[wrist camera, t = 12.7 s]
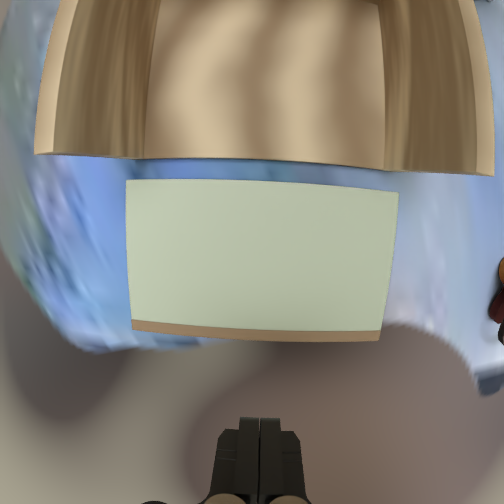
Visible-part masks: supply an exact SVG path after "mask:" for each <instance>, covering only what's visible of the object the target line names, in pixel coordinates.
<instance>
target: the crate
mask: <svg viewBox="0 0 504 504" xmlns="http://www.w3.org/2000/svg"><path fill="white" fill-rule="evenodd" d="M34 155H69V156H90V157H106V158H119V159H132V160H140V159H170V158H228V159H259V160H279V161H295V162H308V163H320V164H331V165H341V166H351V167H360V168H368V169H376V170H383V171H390V172H425V173H449V174H466V175H480V176H493V177H494V166H495V132H494V112H493V99H492V89H491V81H490V73H489V67H488V60H487V55H486V49H485V44H484V39H483V35H482V30H481V26H480V22H479V18H478V14H477V11H476V7H475V4H474V0H61V2H60V5H59V8H58V11H57V14H56V18H55V21H54V25H53V28H52V32H51V36H50V40H49V44H48V49H47V53H46V58H45V63H44V68H43V73H42V79H41V85H40V92H39V99H38V107H37V116H36V127H35V141H34Z"/></svg>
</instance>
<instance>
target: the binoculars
mask: <svg viewBox="0 0 504 504" xmlns="http://www.w3.org/2000/svg"><path fill="white" fill-rule="evenodd" d="M499 276H500V279H501V281H502V283H503V284H504V258H503V259H502V261H501V263H500V266H499ZM489 314H490V317H491V318H492V319H493V320H494V321H495V322H496V323H497V324H500V323H501V325H500V328H499V331H498V340H499V341H500V342H501V343H502V344H503V345H504V286H503V288H502V291H501V292H500V293H499V295H498V296H497V297H496V299H495V300H494V302H493V304H492V306H491V308H490V313H489Z"/></svg>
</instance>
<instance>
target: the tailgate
mask: <svg viewBox="0 0 504 504" xmlns="http://www.w3.org/2000/svg"><path fill="white" fill-rule="evenodd" d="M398 201H399V193H398V192H390V191H381V190H372V189H363V188H353V187H342V186H331V185H319V184H305V183H290V182H272V181H250V180H217V179H144V180H126V245H127V267H128V282H129V295H130V306H131V316H132V320H131V321H132V330H139V331H147V332H155V333H164V334H174V335H184V336H195V337H207V338H221V339H237V340H257V341H286V342H350V341H351V342H354V341H378V340H379V337H380V332H381V325H382V320H383V315H384V310H385V305H386V299H387V293H388V287H389V281H390V274H391V268H392V260H393V253H394V244H395V235H396V225H397V214H398Z"/></svg>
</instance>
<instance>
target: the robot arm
mask: <svg viewBox="0 0 504 504" xmlns="http://www.w3.org/2000/svg"><path fill="white" fill-rule="evenodd" d="M488 1H490V2H491V1H492V0H488ZM300 448H301V447H300V441H299V439H298V438H297V436H296V435H295V433H294V432H293V431H281V428H280V418H261V419H260V430H259V418H250V417H240V423H239V430H234V429H225V430H224V431H223V433H222V434H221V435H220V437H219V438H218V443H217V451H216V456H215V462H214V468H213V474H212V481H211V487H210V492H209V494H208V496H207V497H206V499H205V500H203V501H202V502H201V503H199V504H311V502H310V501H309V500H308V499H307V496H306V493H305V483H304V474H303V465H302V457H301V449H300ZM256 502H257V503H256ZM143 504H166V503H163V502H160V501H148V502H145V503H143Z"/></svg>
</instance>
